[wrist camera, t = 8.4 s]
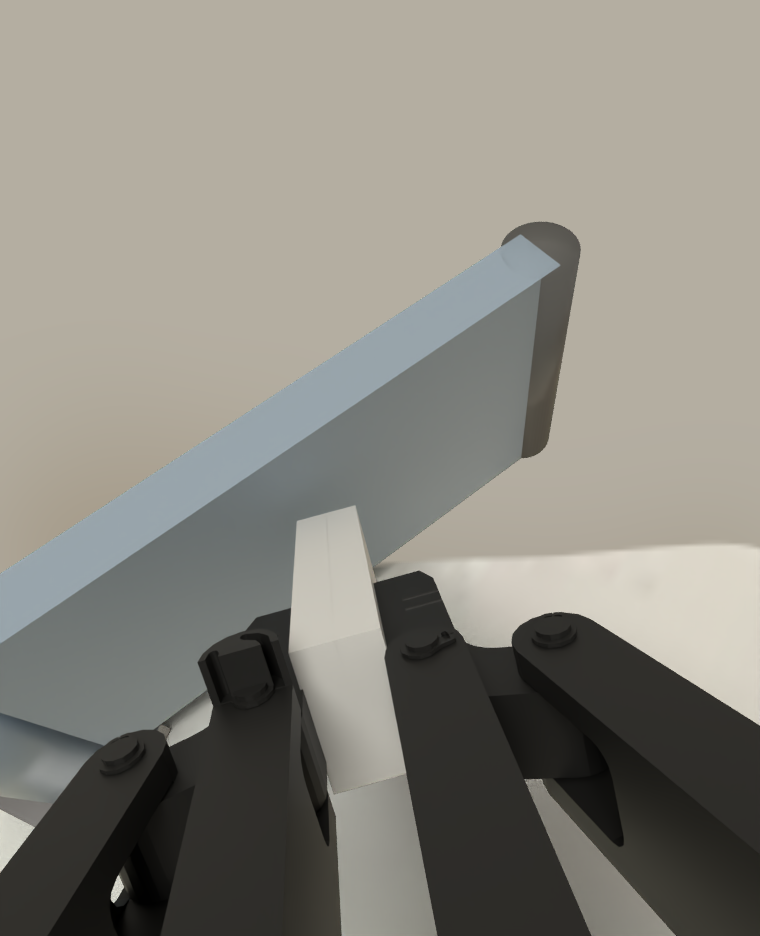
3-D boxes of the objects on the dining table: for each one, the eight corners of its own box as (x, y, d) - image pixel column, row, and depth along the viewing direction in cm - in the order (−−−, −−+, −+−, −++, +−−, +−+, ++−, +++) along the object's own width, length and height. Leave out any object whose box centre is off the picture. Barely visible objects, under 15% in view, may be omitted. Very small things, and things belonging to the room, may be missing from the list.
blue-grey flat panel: (51, 822, 21) (-195, 799, 13) (22, 754, 22) (-221, 696, 15) (564, 440, 26) (603, 255, 18) (519, 399, 27) (537, 207, 19)
